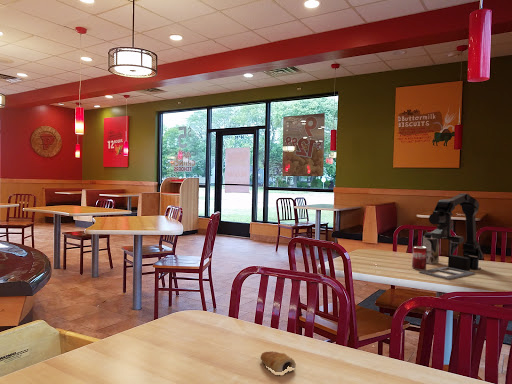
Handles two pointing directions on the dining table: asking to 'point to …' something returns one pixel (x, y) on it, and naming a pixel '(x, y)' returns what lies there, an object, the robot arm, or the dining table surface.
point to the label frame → (450, 271)
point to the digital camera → (459, 262)
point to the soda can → (419, 258)
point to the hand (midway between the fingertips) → (443, 253)
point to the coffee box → (431, 251)
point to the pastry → (277, 361)
